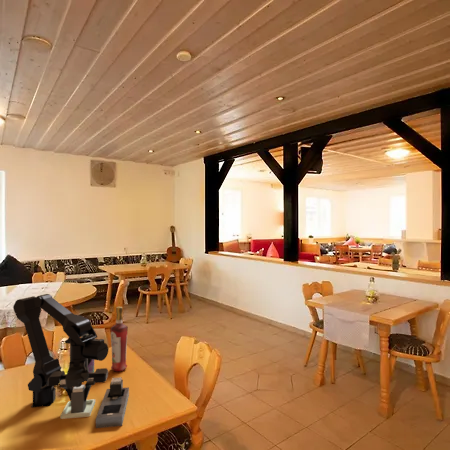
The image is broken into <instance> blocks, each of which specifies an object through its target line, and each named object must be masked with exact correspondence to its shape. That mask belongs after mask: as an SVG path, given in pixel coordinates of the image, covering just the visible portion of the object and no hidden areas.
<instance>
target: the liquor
mask: <svg viewBox="0 0 450 450" xmlns="http://www.w3.org/2000/svg"><path fill="white" fill-rule="evenodd" d="M115 313H116V317H115V324H114V325H112V326H111V327H110V343H111V344H110V345H111V361H112V362H111V367H110V369H111V370H112V371H113V372H115V373H120V371H121V372H124V371H125V370H126V368H127V367H128V365H127V348H128V347H127V346H128V345H127V344H128V325H126V324H124V322H123V306H117V307H115Z"/></svg>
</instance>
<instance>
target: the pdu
mask: <svg viewBox="0 0 450 450" xmlns="http://www.w3.org/2000/svg"><path fill="white" fill-rule="evenodd" d="M129 396H130V387H128V386H127V387H124V379H122V377H112V378H111V381H110V384H109V388H106V390H105V393H104V395H103V398H102V401H101V403H100V406H99V409H98V412H97V415H96V417H95V429H101V428H102V429H103V428H115V427H123V424H124V419H125V414H126V409H127V405H128V401H129Z"/></svg>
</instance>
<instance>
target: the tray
mask: <svg viewBox="0 0 450 450" xmlns="http://www.w3.org/2000/svg"><path fill="white" fill-rule="evenodd" d="M95 404H96V398H95V399H94V398H92V399H87V400H86V408H85V410H84V412H82V413H71V401H70V400H69V401H68V402H67V403H66V405H65V406H64V409H63V410H62V411H61V414H60V420H61V419H62V420H64V419H65V420H66V419H75V418H76V419H77V418H86V417H87V418H89V417H91V414H92V412H93V409H94V406H95Z"/></svg>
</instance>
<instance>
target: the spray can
mask: <svg viewBox="0 0 450 450" xmlns="http://www.w3.org/2000/svg"><path fill="white" fill-rule="evenodd" d="M87 335H89V334H87ZM87 335H84V336H82V337H80V338H83V337H85V336H87ZM88 371H89V373H91V372H95V360H93V359H88Z"/></svg>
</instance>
